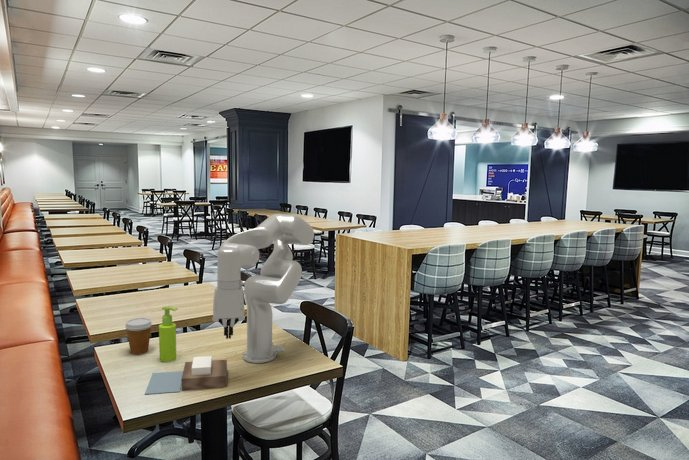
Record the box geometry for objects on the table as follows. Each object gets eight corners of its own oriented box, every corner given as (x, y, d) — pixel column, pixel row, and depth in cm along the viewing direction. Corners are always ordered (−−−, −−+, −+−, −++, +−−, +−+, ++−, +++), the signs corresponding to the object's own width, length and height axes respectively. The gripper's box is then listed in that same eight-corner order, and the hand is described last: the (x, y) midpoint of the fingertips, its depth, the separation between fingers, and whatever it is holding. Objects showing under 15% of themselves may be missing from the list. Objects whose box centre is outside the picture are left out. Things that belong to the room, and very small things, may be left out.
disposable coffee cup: (148, 356, 178) (147, 325, 177) (122, 356, 178) (120, 325, 176) (156, 346, 188) (155, 317, 186) (131, 346, 187) (130, 317, 185)
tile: (211, 362, 165) (211, 356, 165) (210, 374, 157) (210, 367, 156) (193, 363, 164) (193, 357, 164) (191, 375, 155) (191, 368, 155)
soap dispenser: (173, 363, 173) (172, 310, 170) (156, 361, 175) (155, 308, 172) (182, 356, 179) (181, 305, 176) (165, 354, 180) (164, 304, 177)
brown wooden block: (226, 370, 169) (226, 359, 168) (226, 387, 156) (226, 375, 156) (185, 372, 166) (185, 362, 165) (181, 390, 153) (181, 378, 153)
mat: (184, 371, 167) (184, 370, 167) (179, 392, 152) (179, 391, 152) (152, 373, 164) (152, 373, 164) (144, 394, 150) (144, 393, 150)
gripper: (251, 281, 163) (250, 332, 166) (206, 282, 160) (206, 334, 162) (252, 286, 156) (251, 340, 158) (204, 287, 153) (204, 342, 155)
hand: (228, 337), depth 160 cm, fingers closed
